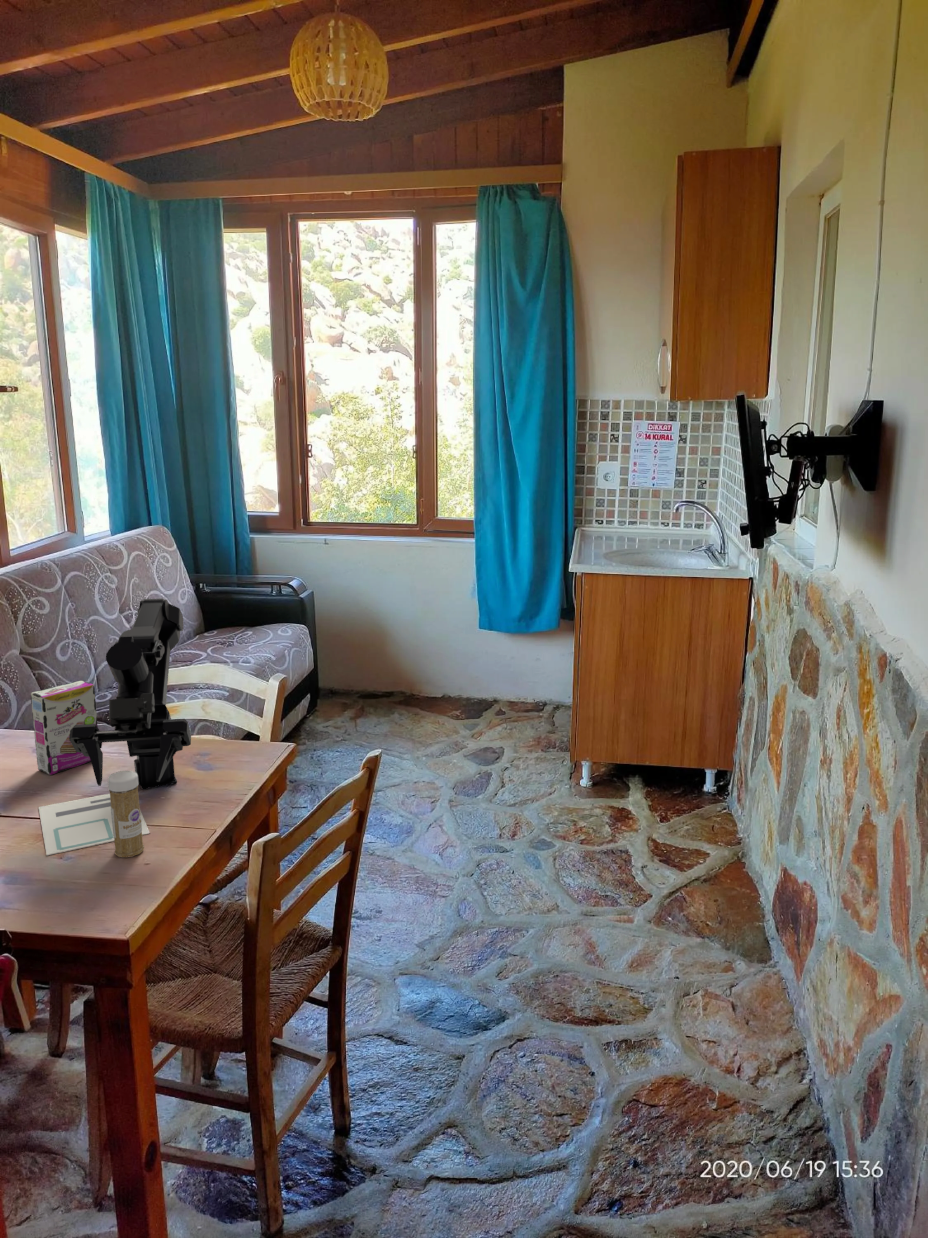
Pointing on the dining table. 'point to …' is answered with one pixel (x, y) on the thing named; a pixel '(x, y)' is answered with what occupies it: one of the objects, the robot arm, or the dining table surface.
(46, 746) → the candy bar box
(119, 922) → the dining table surface
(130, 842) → the sprinkles bottle
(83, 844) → the paper sheet
